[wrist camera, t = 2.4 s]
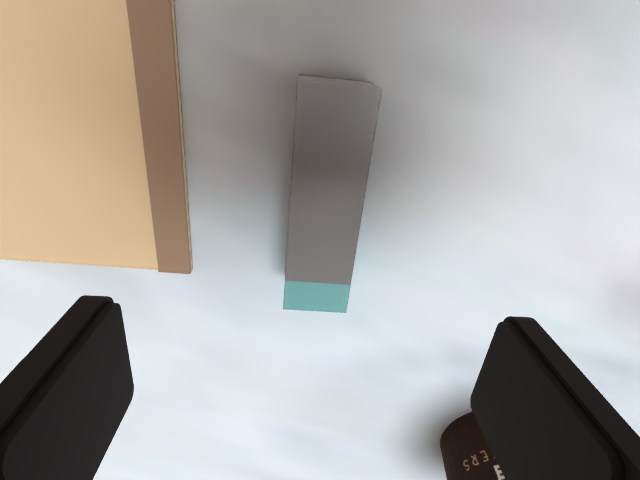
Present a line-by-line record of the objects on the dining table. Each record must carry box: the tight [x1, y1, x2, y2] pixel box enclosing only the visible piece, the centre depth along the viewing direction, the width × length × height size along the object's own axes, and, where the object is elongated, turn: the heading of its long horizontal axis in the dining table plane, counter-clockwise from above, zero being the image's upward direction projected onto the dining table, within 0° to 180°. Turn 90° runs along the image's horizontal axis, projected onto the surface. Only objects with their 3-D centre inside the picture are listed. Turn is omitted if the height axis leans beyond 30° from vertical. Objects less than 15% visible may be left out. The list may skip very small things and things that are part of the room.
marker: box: [283, 75, 382, 313], centre depth 17 cm, size 10×3×3 cm, turn 175°
